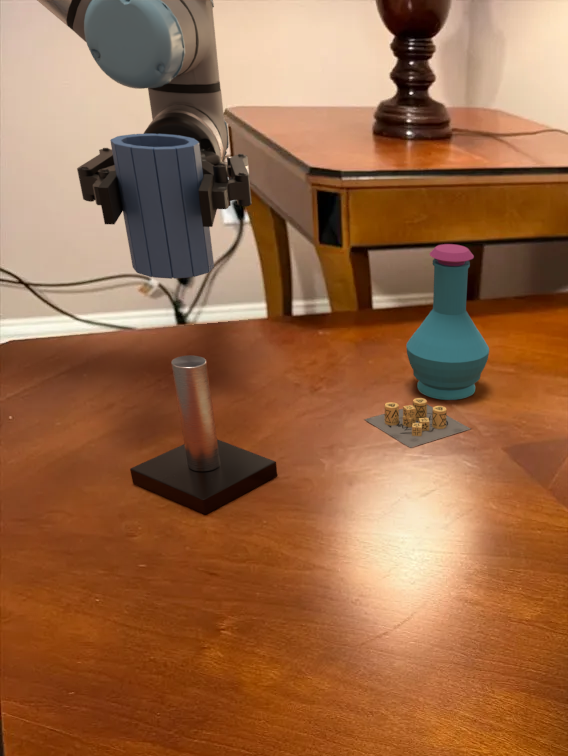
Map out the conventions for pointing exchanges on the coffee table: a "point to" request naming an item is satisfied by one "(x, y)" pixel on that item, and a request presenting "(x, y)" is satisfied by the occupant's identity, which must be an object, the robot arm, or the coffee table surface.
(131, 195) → the blue sleeve
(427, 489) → the coffee table surface
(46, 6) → the robot arm
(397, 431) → the dice set
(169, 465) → the peg on square base
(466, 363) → the perfume bottle
